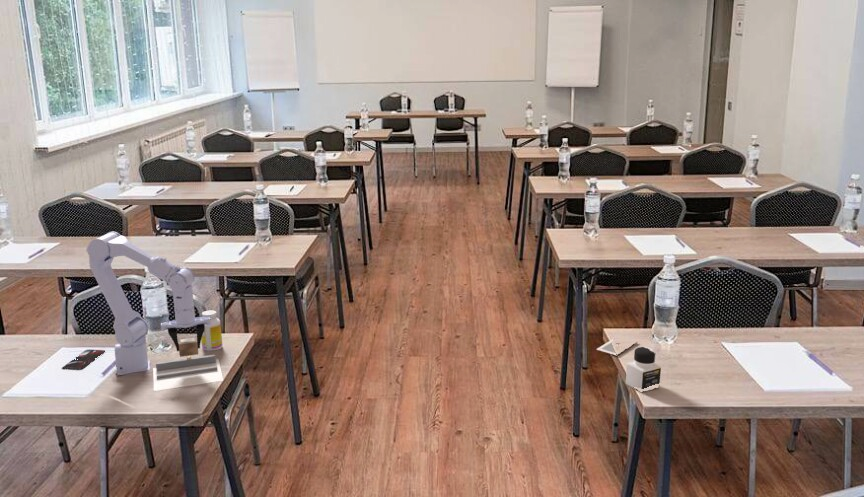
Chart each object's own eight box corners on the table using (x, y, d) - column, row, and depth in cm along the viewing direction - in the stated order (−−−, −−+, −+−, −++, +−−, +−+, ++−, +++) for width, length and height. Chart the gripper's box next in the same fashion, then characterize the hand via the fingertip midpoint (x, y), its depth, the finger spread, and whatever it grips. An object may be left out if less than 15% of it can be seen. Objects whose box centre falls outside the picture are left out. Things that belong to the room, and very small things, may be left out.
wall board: (154, 392, 222) (152, 381, 221) (153, 369, 237) (152, 359, 236) (223, 382, 228) (222, 371, 227) (218, 360, 244) (217, 350, 243)
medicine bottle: (641, 393, 221) (644, 356, 217) (625, 384, 227) (627, 347, 224) (659, 388, 224) (663, 351, 221) (642, 379, 230) (645, 343, 227)
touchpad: (595, 352, 251) (596, 346, 250) (617, 339, 261) (617, 333, 261) (617, 358, 246) (617, 352, 245) (638, 344, 256) (638, 339, 256)
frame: (179, 356, 231) (178, 343, 230) (179, 352, 234) (177, 339, 233) (198, 354, 233) (197, 341, 232) (197, 349, 236) (196, 336, 235)
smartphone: (60, 368, 237) (86, 349, 252) (60, 370, 238) (86, 351, 252) (81, 369, 237) (106, 350, 251) (82, 371, 237) (107, 352, 251)
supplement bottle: (225, 344, 256) (222, 309, 252) (218, 352, 250) (215, 316, 246) (206, 343, 257) (203, 308, 253) (199, 351, 250) (195, 315, 247)
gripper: (159, 315, 224) (164, 356, 227) (209, 309, 228) (213, 350, 232) (159, 307, 230) (163, 348, 234) (208, 301, 235) (211, 341, 239)
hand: (188, 348), depth 233 cm, fingers closed on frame, 5 cm apart
